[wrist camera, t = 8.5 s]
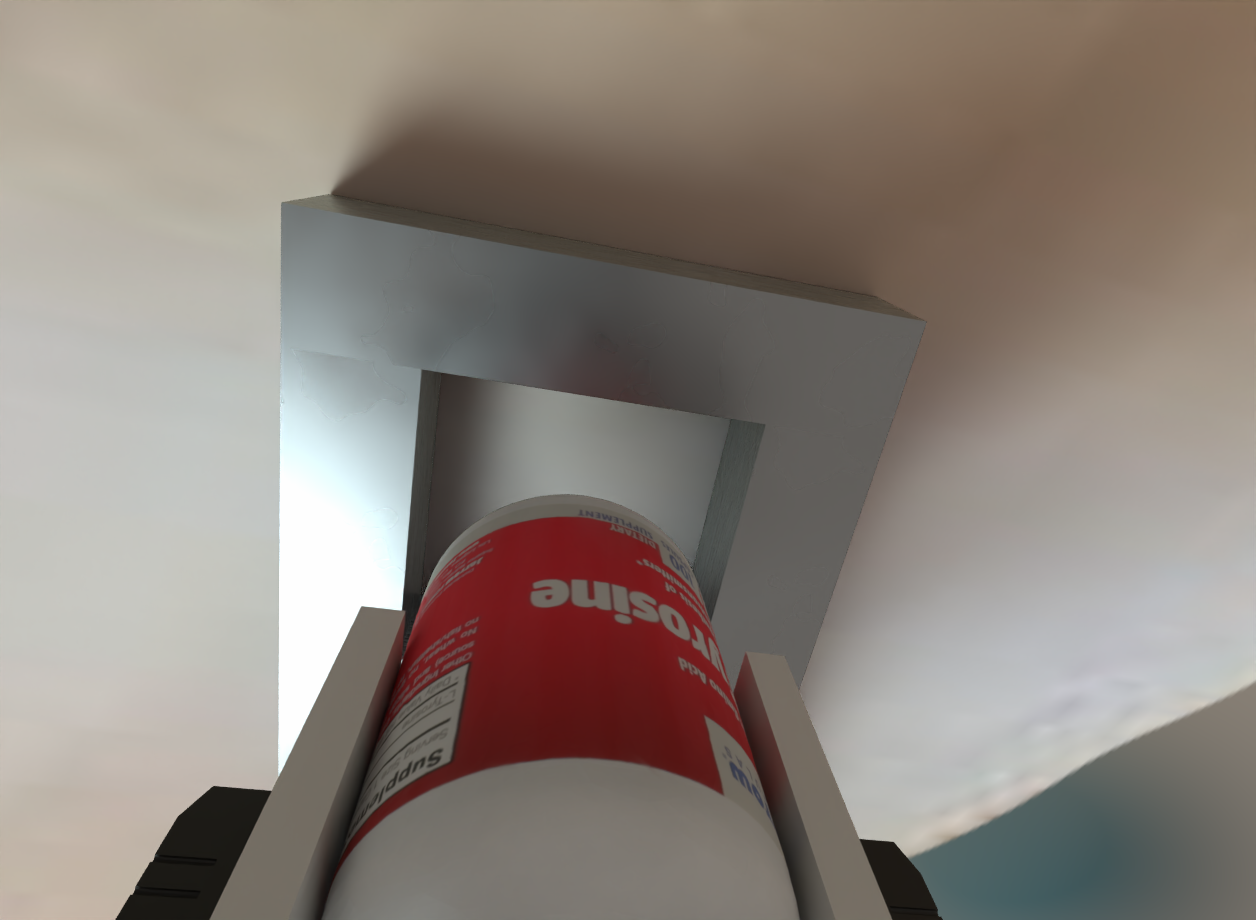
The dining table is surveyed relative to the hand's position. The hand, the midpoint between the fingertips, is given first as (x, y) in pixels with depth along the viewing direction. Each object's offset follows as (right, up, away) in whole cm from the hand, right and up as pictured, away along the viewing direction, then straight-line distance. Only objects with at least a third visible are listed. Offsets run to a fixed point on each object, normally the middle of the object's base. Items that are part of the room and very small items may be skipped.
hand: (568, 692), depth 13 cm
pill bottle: (0, +1, +3) cm, 3 cm away
